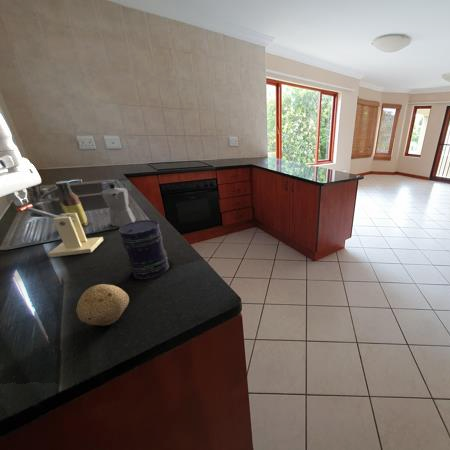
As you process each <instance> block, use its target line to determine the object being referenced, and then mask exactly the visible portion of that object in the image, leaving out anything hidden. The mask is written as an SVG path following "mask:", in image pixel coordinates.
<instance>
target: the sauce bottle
mask: <svg viewBox="0 0 450 450" xmlns="http://www.w3.org/2000/svg"><path fill="white" fill-rule="evenodd" d="M55 186H56V187H57V189H58V192H59V193H58V194H59V199H58V200H59V201H58V203H59V205H60V207H61V209H62V212H63V214H66V213H77V215H78V218H79V220H80V223H81V225H82V228H84V227H85V226H87V225H89V222H88V218H87V216H86V213H85V210H84V208H83V205H82V202H81V201H80V199H79V196H78V195H77V194H76V193H74V192H73V191H72V189H71V186H70V182H69V180H61V181H56V182H55Z"/></svg>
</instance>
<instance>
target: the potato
mask: <svg viewBox="0 0 450 450" xmlns="http://www.w3.org/2000/svg"><path fill="white" fill-rule="evenodd" d="M129 303H130V297H129V295H128V293H127V292H126V291H125V290H123V289H122V288H120V287H119V286H116V285H114V284H109V283H108V284H107V283H101V284H99V283H98V284H96V285H93V286H90V287H89V288H87V289H86V290H84V292H83V293H82V294H81V296H80V297H79V299H78V301H77V305H76V307H75V312H76V315H77V318H78V319H79V321H80V322H82V323H84V324H86V325H90V326H102V327H105V326H110V325H112V324H114V323H116V322H117V321H118V320H119V319H120V318H121V316H122V314H123V312H124V311H125V310H126V309H127V308H128V305H129Z"/></svg>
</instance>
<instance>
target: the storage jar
mask: <svg viewBox="0 0 450 450" xmlns="http://www.w3.org/2000/svg"><path fill="white" fill-rule="evenodd" d="M118 232H119V234H120V239H121V242H122V245H123V247H124V249H125V251H126V253H127V256H128V263H129V267H130V270H131V271H132V274H133V277H134V278H136V279H139V280H147V279H148V280H149V279H152V278H155V277H158V276H160V275H163V274H164V273H166V272H167V270H168V269H169V267H170V264H169V262H168V260H169V259H168V255H167V251H166V249H165V248H164V244H163V235H162V230H161V229H160V224H159V222H158V221H156V220H153V219H145V220H144V219H143V220H135V222H132V223H129V224H126V225H124V226H120V227H119V229H118Z"/></svg>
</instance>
